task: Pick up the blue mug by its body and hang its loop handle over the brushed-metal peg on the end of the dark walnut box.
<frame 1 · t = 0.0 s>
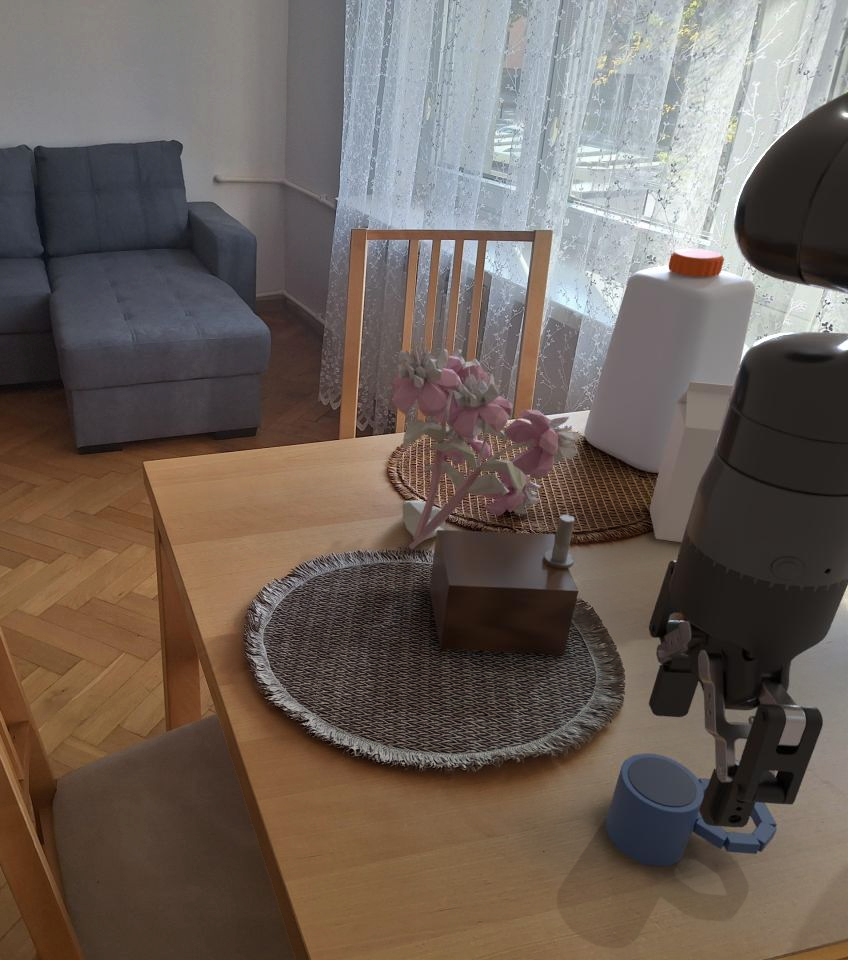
hand: (691, 762, 52), 16 cm above the table, tool pointing down, fingers open, 8 cm apart
flower: (471, 518, 108), on the table
plastic bottle: (648, 449, 123), on the table
walnut box: (492, 621, 90), on the table
blue mug: (644, 835, 67), on the table
milk carton: (683, 530, 105), on the table
pastry: (720, 628, 88), on the table
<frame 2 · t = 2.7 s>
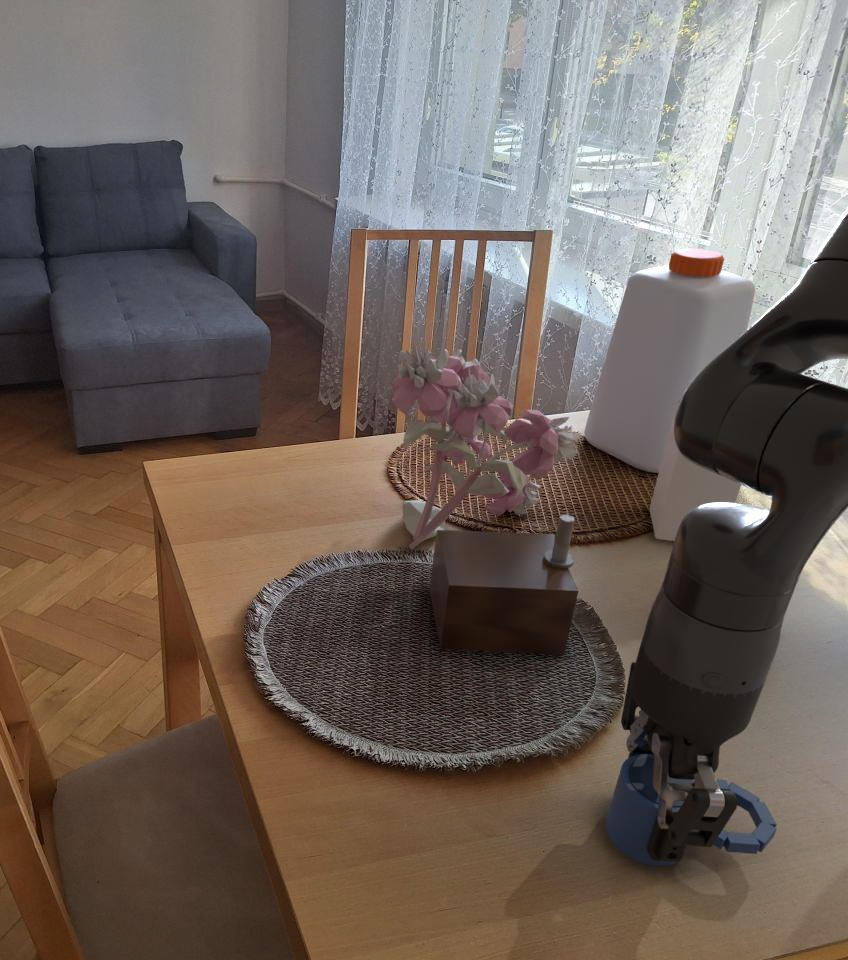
hand: (648, 821, 66), 2 cm above the table, tool pointing down, fingers closed on blue mug, 5 cm apart
blue mug: (644, 835, 67), on the table, touching gripper
everything else where it was.
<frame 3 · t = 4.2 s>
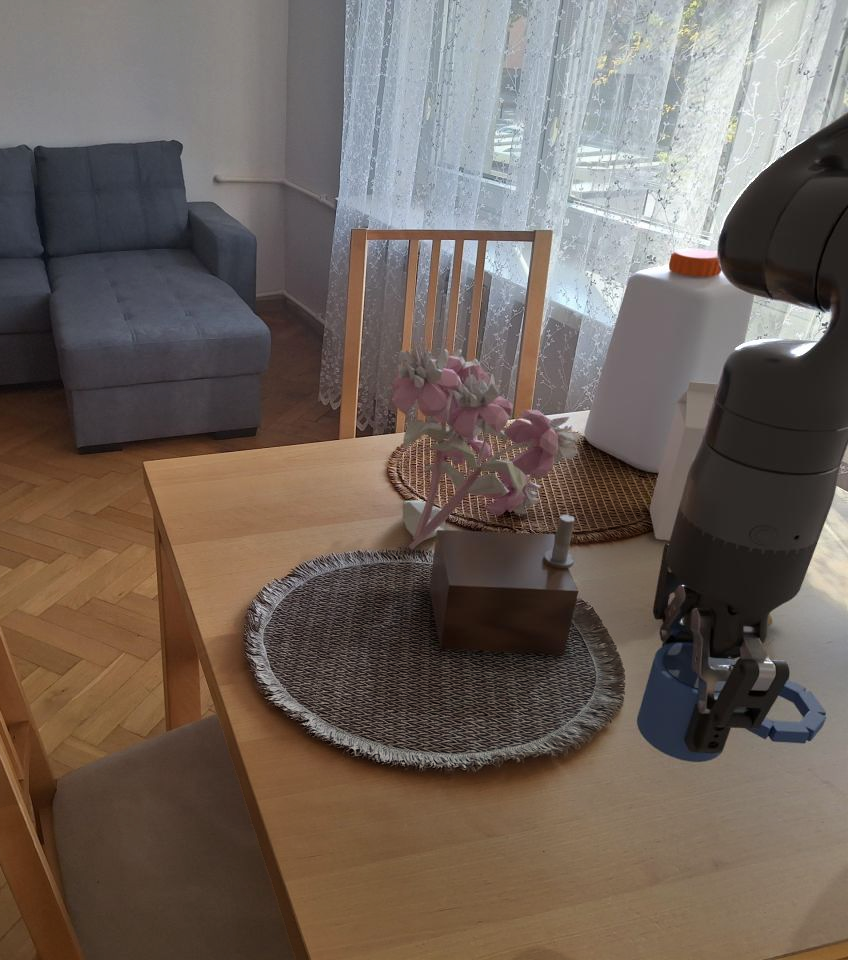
hand: (684, 714, 61), 13 cm above the table, tool pointing down, fingers closed on blue mug, 5 cm apart
blue mug: (679, 732, 61), point 11 cm above the table, touching gripper
everything else where it was.
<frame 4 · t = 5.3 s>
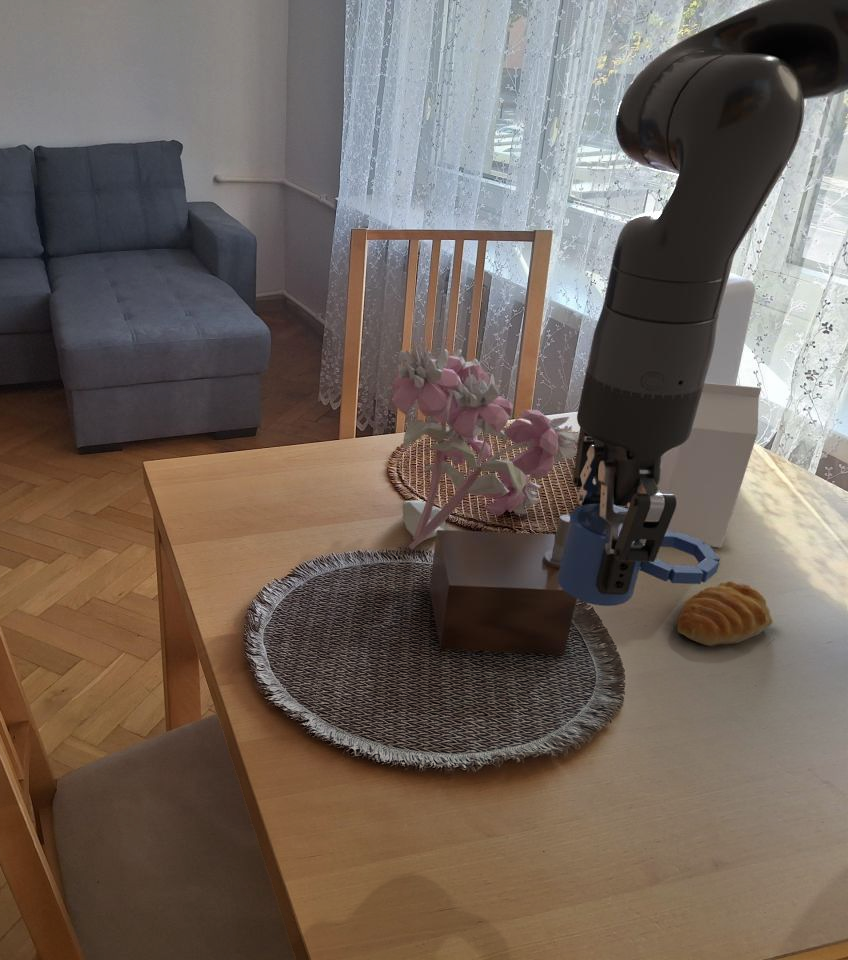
hand: (598, 567, 68), 18 cm above the table, tool pointing down, fingers closed on blue mug, 5 cm apart
blue mug: (594, 585, 69), point 16 cm above the table, touching gripper
everything else where it was.
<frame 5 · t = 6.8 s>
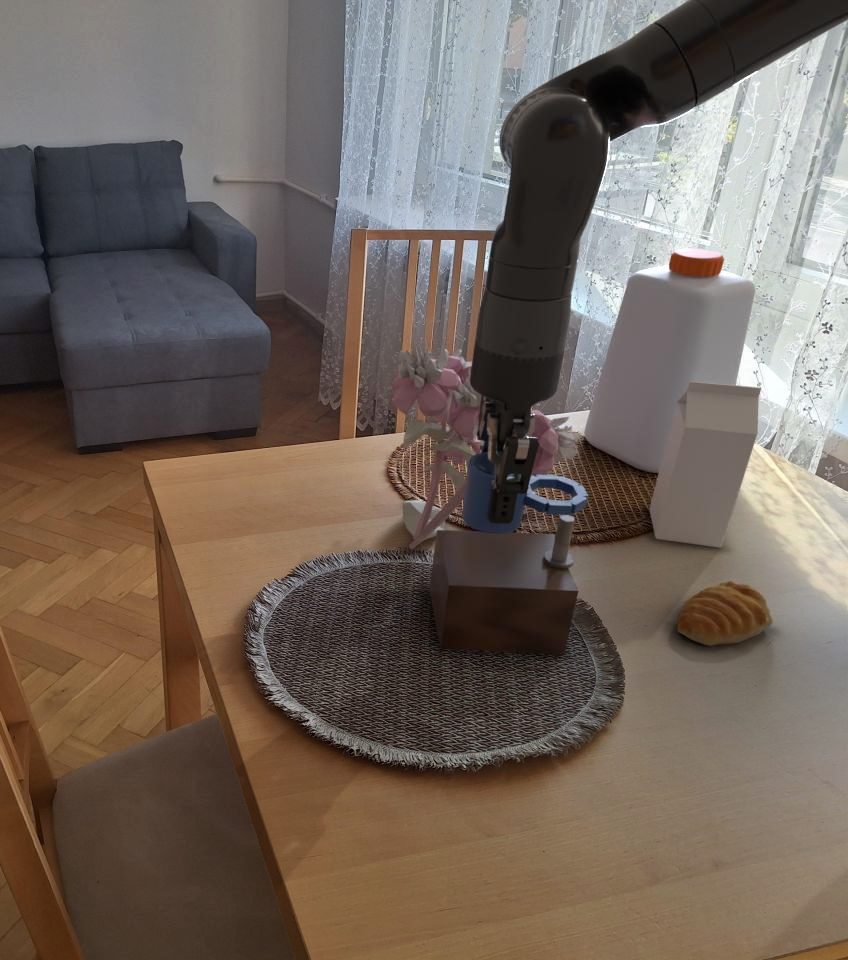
hand: (493, 504, 83), 14 cm above the table, tool pointing down, fingers closed on blue mug, 5 cm apart
blue mug: (491, 518, 84), point 13 cm above the table, touching gripper
everything else where it was.
when the fingers open (11 cm above the table, at t = 8.2 s): blue mug stays where it is, resting on walnut box.
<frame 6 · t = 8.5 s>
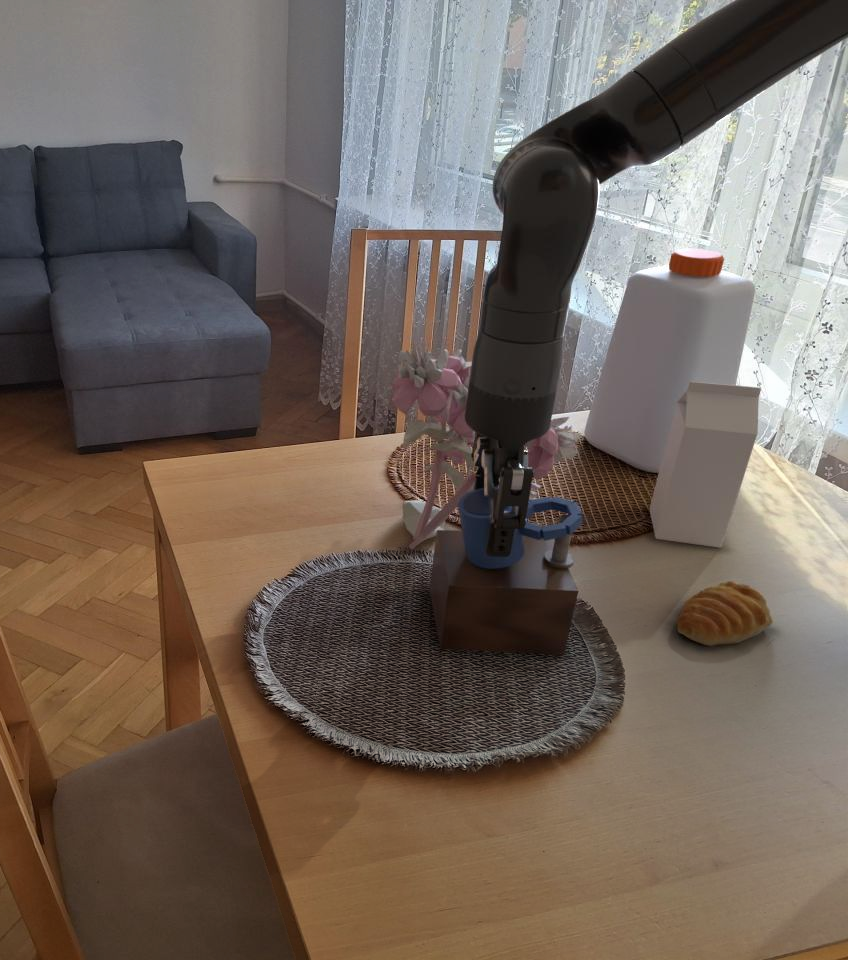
hand: (489, 530, 85), 11 cm above the table, tool pointing down, fingers open, 8 cm apart
blue mug: (495, 552, 86), point 9 cm above the table, tilted 15°, touching walnut box
everything else where it was.
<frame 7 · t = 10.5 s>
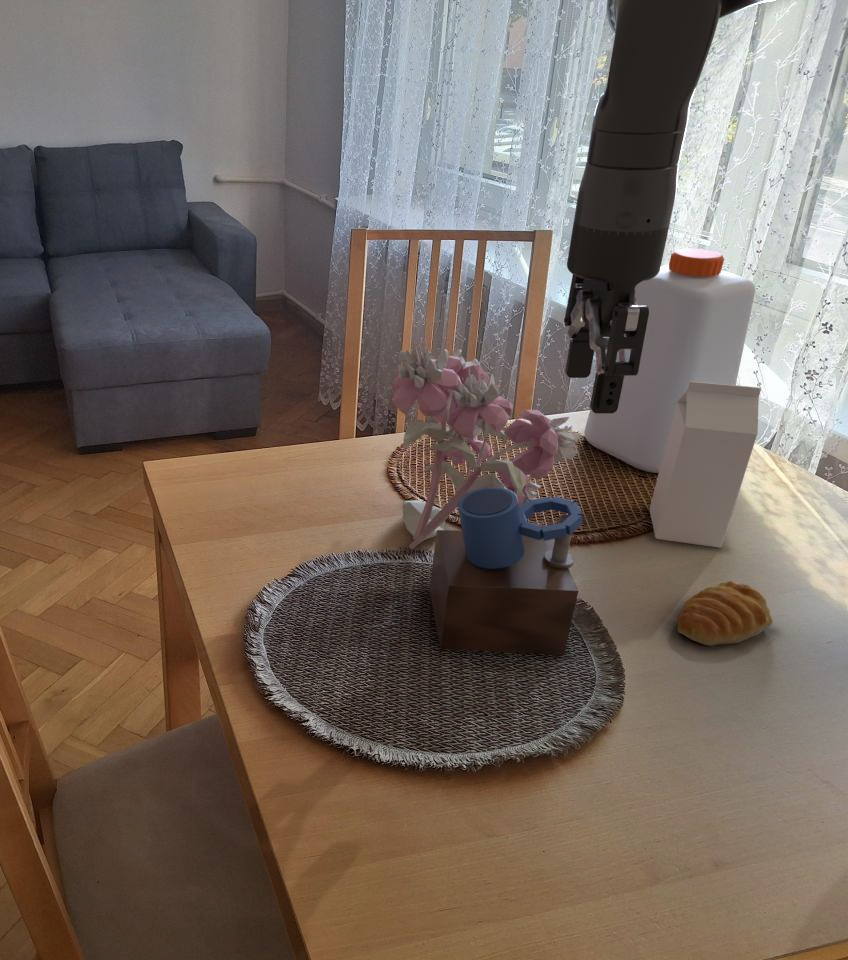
hand: (589, 393, 81), 24 cm above the table, tool pointing down, fingers open, 8 cm apart
nothing on the table moved.
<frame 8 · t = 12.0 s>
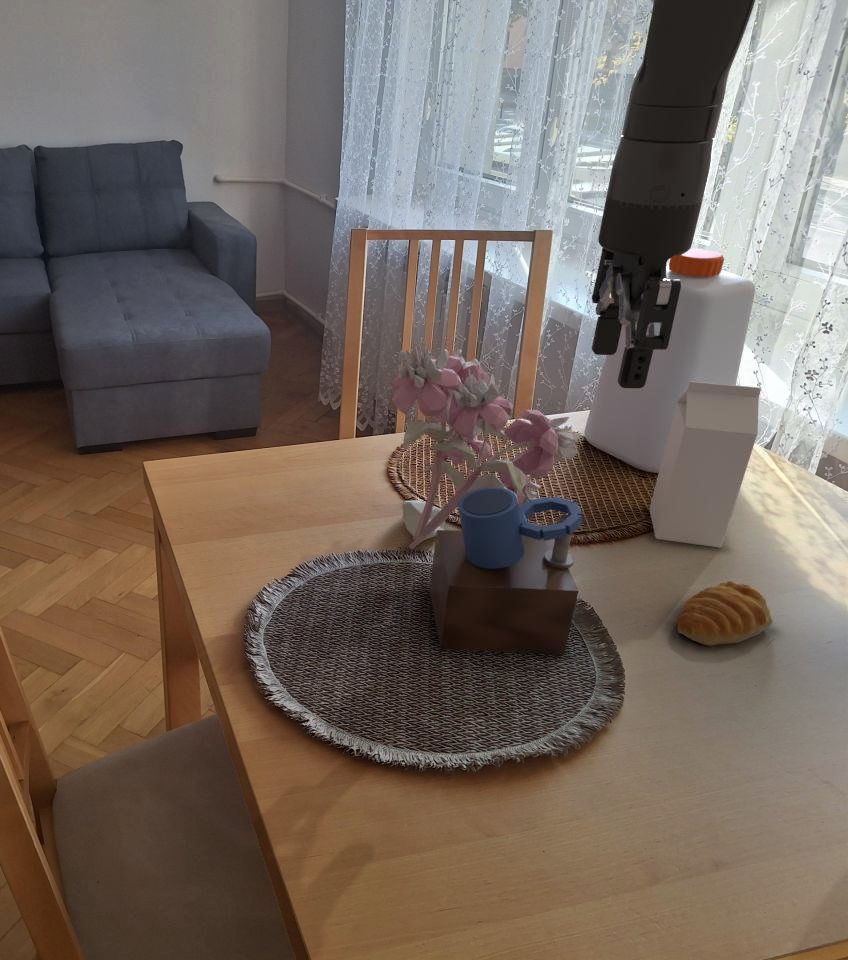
hand: (616, 369, 82), 26 cm above the table, tool pointing down, fingers open, 8 cm apart
nothing on the table moved.
at the end: blue mug 1.0 cm from the target spot on the walnut box, point 8.7 cm above the walnut box's base; blue mug tilted 15°; the gripper is holding nothing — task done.
